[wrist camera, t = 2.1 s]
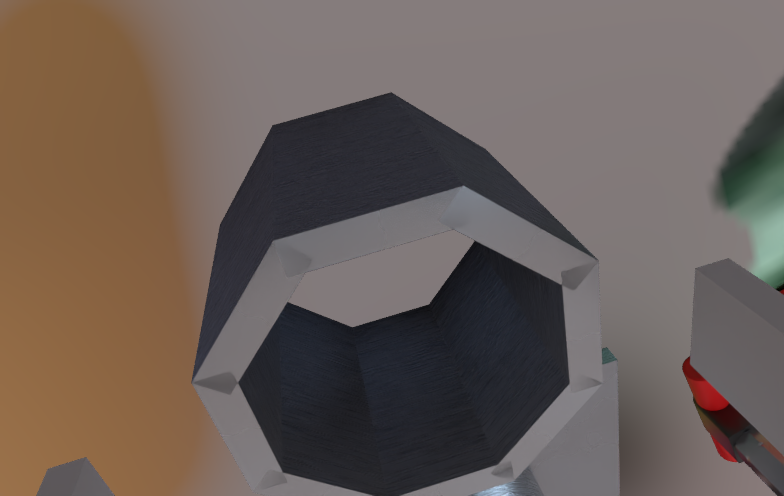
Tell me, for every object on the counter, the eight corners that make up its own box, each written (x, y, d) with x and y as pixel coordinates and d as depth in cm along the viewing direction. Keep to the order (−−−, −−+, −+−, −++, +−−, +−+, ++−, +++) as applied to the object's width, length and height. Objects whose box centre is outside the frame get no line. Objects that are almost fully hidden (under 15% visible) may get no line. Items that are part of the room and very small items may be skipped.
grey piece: (187, 148, 16) (133, 280, 10) (473, 69, 16) (594, 147, 10) (303, 415, 21) (315, 604, 15) (513, 350, 22) (607, 509, 16)
